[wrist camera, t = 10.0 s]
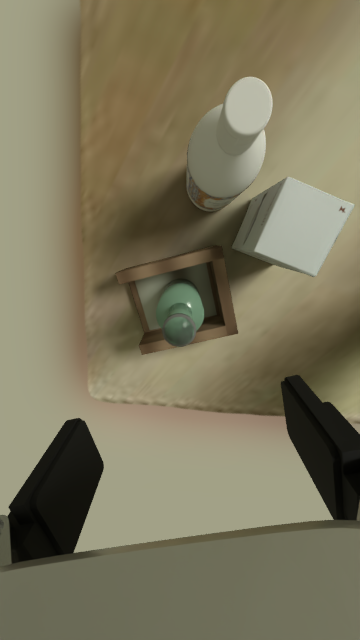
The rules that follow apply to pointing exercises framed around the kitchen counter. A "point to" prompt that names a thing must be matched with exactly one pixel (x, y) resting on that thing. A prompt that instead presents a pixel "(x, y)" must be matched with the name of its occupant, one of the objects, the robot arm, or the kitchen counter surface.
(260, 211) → the supplement box
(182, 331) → the green bottle
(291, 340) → the kitchen counter surface
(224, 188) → the bath foam
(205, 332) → the walnut U-rest
